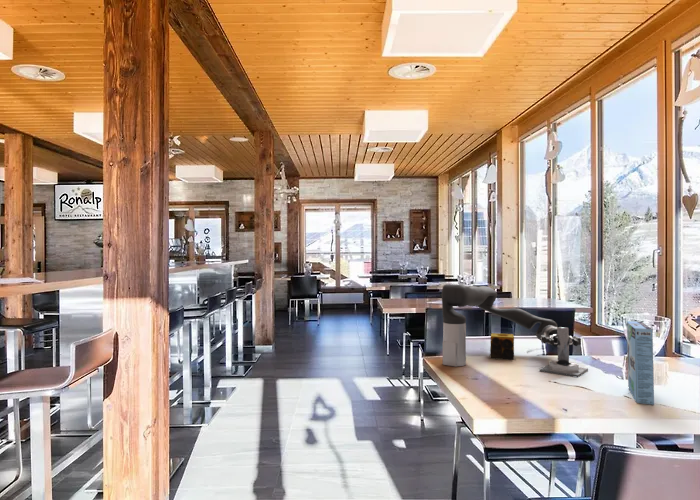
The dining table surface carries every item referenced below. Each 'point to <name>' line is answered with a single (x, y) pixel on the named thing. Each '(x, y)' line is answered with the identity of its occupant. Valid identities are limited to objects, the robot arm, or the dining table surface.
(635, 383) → the blue cardboard box
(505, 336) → the brown textured cube
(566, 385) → the dining table surface
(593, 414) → the dining table surface
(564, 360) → the pin
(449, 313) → the robot arm
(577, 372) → the collar
